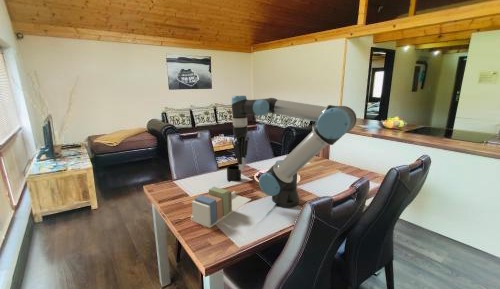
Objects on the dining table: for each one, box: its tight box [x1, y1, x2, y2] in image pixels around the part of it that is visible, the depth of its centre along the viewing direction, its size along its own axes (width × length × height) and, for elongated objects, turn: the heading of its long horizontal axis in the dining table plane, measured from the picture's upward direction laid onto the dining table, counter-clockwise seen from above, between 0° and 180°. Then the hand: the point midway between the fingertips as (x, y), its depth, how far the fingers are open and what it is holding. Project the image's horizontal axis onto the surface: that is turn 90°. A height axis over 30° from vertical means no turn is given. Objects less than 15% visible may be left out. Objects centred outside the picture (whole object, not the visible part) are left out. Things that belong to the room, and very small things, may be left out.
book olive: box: [208, 186, 229, 216], centre depth 125 cm, size 9×4×12 cm, turn 57°
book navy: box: [194, 194, 217, 225], centre depth 118 cm, size 9×4×11 cm, turn 57°
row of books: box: [190, 190, 252, 229], centre depth 129 cm, size 12×34×11 cm, turn 147°
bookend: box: [228, 190, 232, 212], centre depth 128 cm, size 9×3×10 cm, turn 57°
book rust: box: [205, 194, 223, 220], centre depth 122 cm, size 8×4×10 cm, turn 57°
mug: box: [226, 164, 242, 183], centre depth 170 cm, size 9×12×9 cm
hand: (241, 169), depth 136 cm, fingers closed
